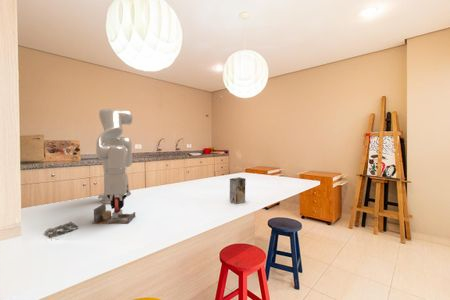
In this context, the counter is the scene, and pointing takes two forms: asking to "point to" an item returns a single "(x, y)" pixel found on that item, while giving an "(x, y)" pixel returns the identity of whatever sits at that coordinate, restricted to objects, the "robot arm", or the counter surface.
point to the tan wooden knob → (106, 215)
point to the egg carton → (64, 227)
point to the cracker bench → (98, 217)
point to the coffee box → (237, 190)
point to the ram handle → (117, 209)
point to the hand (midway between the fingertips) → (117, 207)
